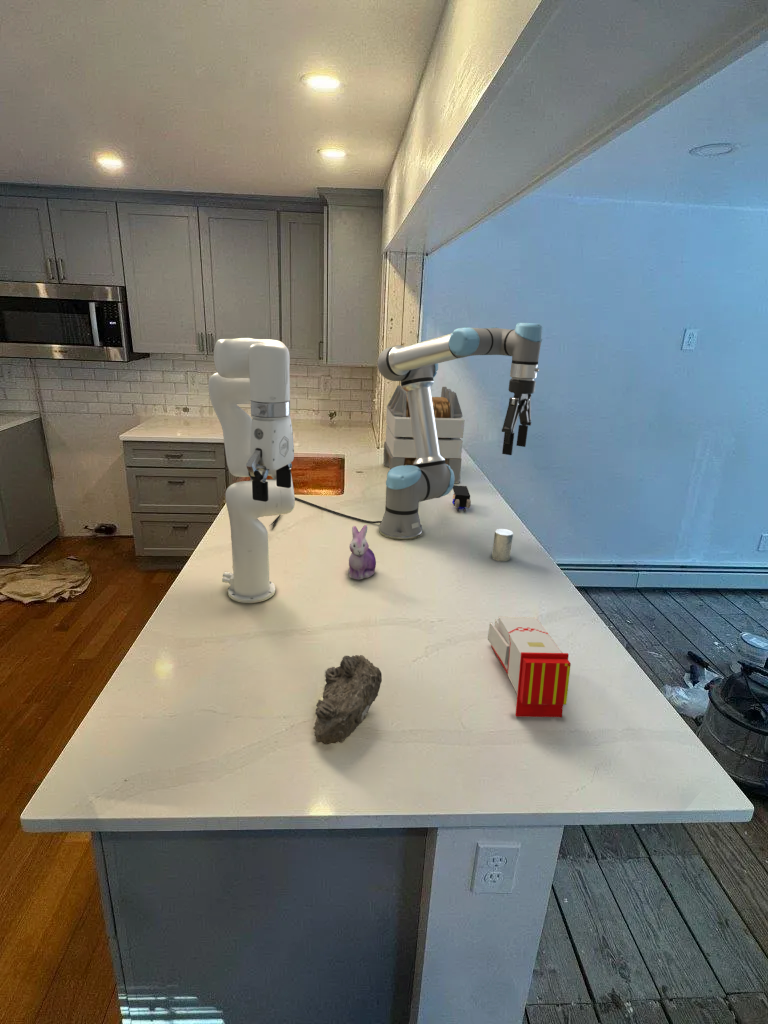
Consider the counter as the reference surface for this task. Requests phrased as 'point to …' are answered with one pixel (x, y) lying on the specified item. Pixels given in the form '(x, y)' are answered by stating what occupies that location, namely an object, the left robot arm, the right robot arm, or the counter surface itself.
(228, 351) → the left robot arm
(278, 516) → the feather
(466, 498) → the figurine character
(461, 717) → the counter surface
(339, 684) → the fossil
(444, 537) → the counter surface
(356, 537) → the figurine
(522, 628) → the toy
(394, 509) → the right robot arm
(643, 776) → the counter surface
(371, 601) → the counter surface
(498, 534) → the can
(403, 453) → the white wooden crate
